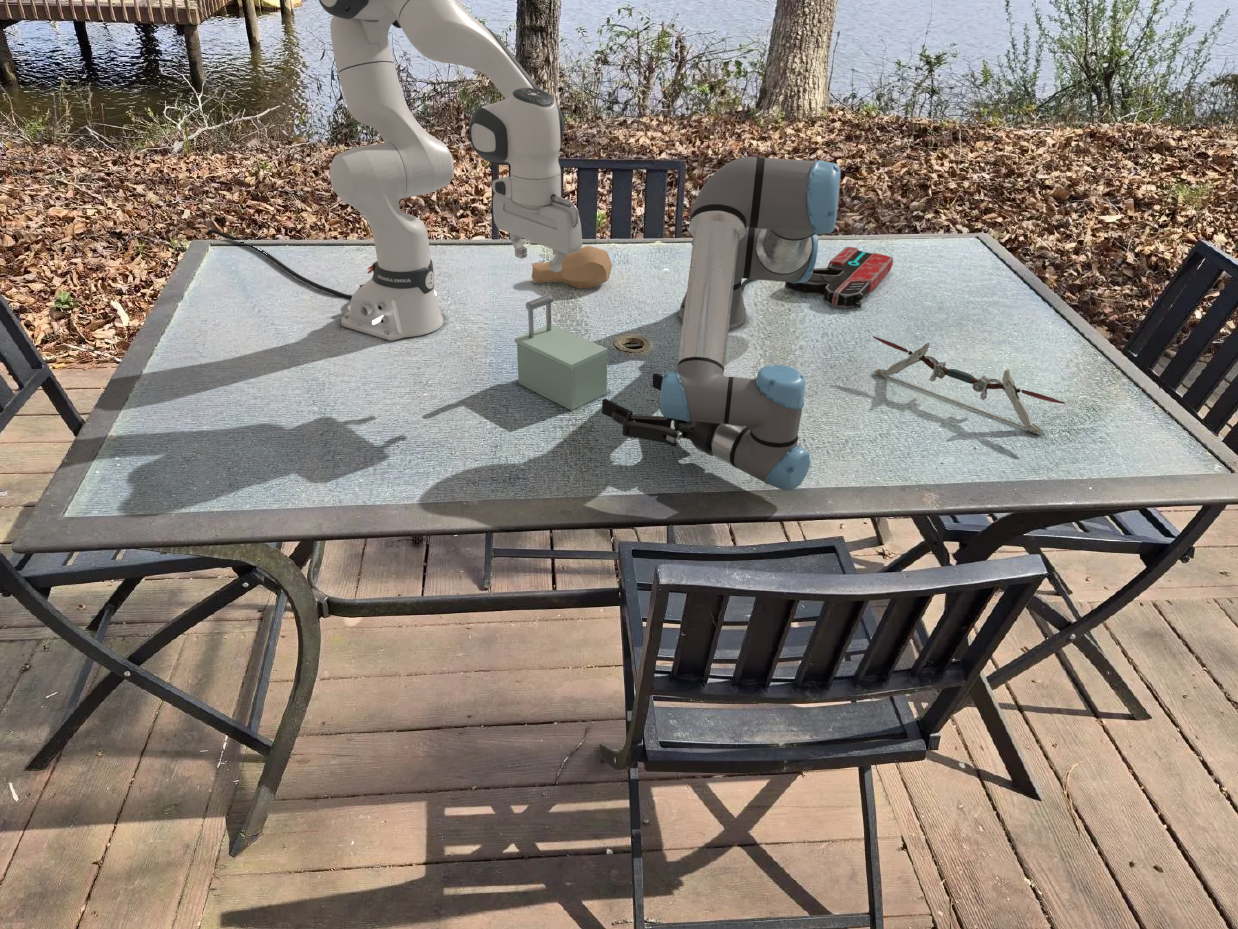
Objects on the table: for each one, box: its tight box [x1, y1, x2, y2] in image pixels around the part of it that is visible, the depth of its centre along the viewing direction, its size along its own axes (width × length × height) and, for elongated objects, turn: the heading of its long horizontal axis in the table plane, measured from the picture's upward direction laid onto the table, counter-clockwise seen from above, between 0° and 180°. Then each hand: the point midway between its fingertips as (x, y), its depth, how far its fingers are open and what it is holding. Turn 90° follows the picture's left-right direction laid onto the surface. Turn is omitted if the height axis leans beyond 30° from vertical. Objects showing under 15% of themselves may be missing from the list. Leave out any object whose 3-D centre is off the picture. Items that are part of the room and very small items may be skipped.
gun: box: [784, 246, 894, 309], centre depth 220 cm, size 4×31×19 cm
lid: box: [514, 294, 608, 369], centre depth 166 cm, size 16×10×8 cm, turn 47°
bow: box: [872, 335, 1066, 435], centre depth 169 cm, size 39×2×10 cm, turn 47°
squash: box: [531, 245, 613, 289], centre depth 215 cm, size 11×20×9 cm, turn 90°
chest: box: [516, 343, 608, 411], centre depth 170 cm, size 15×10×9 cm, turn 47°
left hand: (538, 263), depth 163 cm, fingers open, 8 cm apart
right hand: (629, 392), depth 159 cm, fingers open, 13 cm apart
